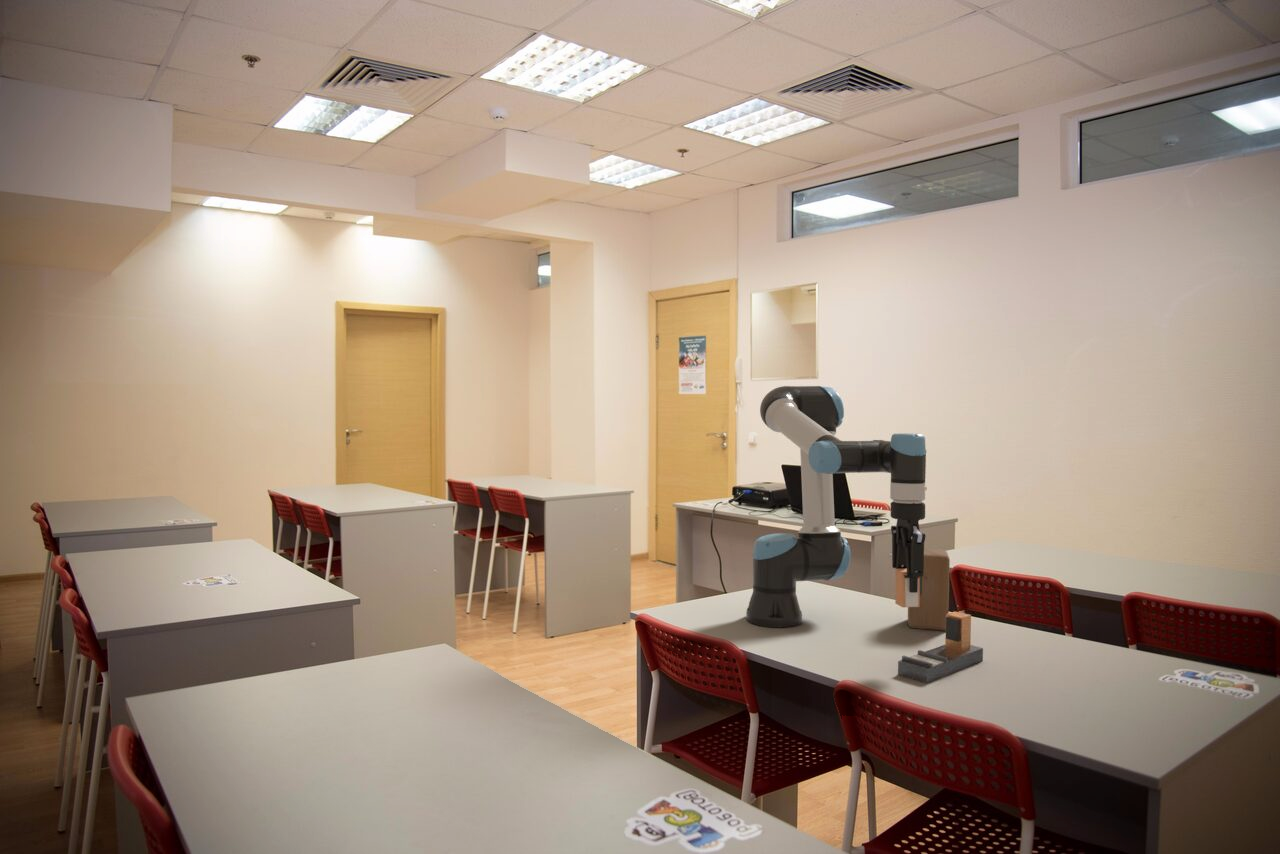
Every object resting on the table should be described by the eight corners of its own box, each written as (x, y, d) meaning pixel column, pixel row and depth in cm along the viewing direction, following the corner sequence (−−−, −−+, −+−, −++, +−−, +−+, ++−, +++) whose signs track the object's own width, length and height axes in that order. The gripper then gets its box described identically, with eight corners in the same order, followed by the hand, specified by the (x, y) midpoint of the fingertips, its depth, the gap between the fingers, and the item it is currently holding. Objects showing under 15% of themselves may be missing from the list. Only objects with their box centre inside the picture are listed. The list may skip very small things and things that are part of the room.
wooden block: (908, 628, 218) (909, 554, 217) (907, 618, 228) (908, 547, 227) (948, 632, 215) (950, 556, 215) (945, 622, 225) (947, 549, 224)
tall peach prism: (895, 603, 189) (895, 568, 188) (915, 602, 189) (915, 568, 189) (902, 607, 185) (902, 572, 184) (923, 606, 185) (923, 571, 185)
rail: (897, 674, 182) (898, 625, 181) (954, 653, 197) (955, 608, 197) (926, 683, 177) (927, 632, 176) (982, 660, 192) (983, 614, 191)
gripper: (940, 505, 178) (940, 612, 179) (908, 497, 195) (907, 595, 196) (907, 505, 177) (906, 613, 178) (877, 497, 194) (877, 595, 195)
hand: (907, 603), depth 187 cm, fingers closed on tall peach prism, 4 cm apart
